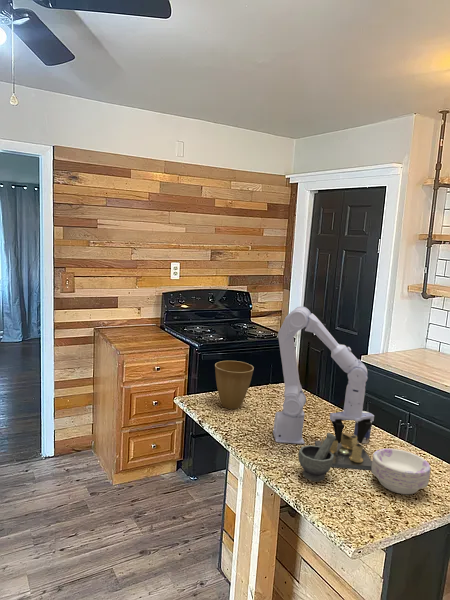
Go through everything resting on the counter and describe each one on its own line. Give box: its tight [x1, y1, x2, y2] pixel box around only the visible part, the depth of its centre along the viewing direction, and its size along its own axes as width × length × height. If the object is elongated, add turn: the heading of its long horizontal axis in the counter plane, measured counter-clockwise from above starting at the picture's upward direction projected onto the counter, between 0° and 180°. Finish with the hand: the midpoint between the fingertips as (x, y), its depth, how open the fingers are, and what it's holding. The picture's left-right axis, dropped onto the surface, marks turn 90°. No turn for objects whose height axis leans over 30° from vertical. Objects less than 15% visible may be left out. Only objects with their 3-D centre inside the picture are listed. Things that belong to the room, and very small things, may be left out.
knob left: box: [321, 436, 338, 454], centre depth 146 cm, size 4×4×4 cm
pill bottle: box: [353, 410, 373, 444], centre depth 160 cm, size 5×5×10 cm
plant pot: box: [214, 360, 255, 410], centre depth 180 cm, size 15×15×16 cm
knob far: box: [340, 431, 358, 450], centre depth 150 cm, size 4×4×4 cm
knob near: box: [349, 443, 364, 463], centre depth 142 cm, size 4×4×4 cm
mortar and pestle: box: [298, 432, 336, 483], centre depth 132 cm, size 11×9×12 cm
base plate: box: [314, 440, 372, 471], centre depth 146 cm, size 15×15×2 cm
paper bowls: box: [370, 448, 431, 495], centre depth 131 cm, size 15×15×8 cm
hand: (348, 441), depth 150 cm, fingers open, 7 cm apart
